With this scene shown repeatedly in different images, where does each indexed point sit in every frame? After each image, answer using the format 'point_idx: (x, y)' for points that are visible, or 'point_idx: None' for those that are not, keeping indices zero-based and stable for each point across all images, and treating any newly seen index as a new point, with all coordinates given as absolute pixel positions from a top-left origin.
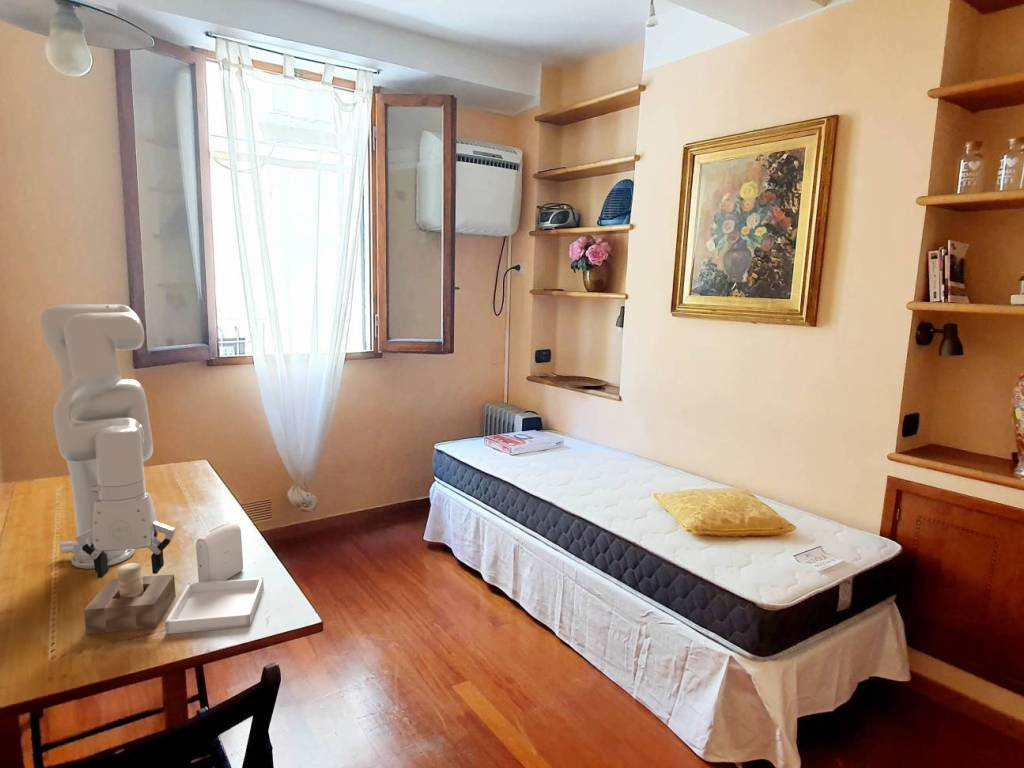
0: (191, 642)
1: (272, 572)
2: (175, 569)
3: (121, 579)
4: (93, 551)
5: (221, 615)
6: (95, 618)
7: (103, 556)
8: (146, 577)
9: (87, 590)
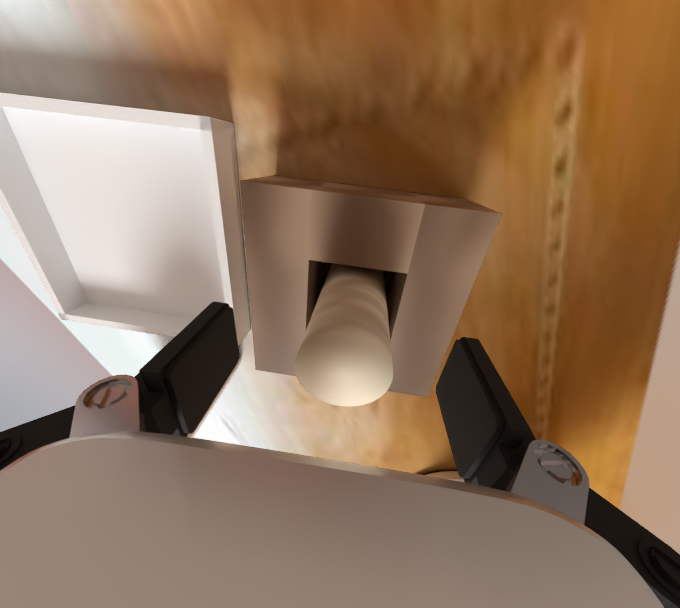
0: (127, 28)
1: (111, 363)
2: (313, 427)
3: (372, 319)
4: (584, 513)
5: (107, 181)
6: (449, 202)
7: (477, 455)
8: None
9: None
